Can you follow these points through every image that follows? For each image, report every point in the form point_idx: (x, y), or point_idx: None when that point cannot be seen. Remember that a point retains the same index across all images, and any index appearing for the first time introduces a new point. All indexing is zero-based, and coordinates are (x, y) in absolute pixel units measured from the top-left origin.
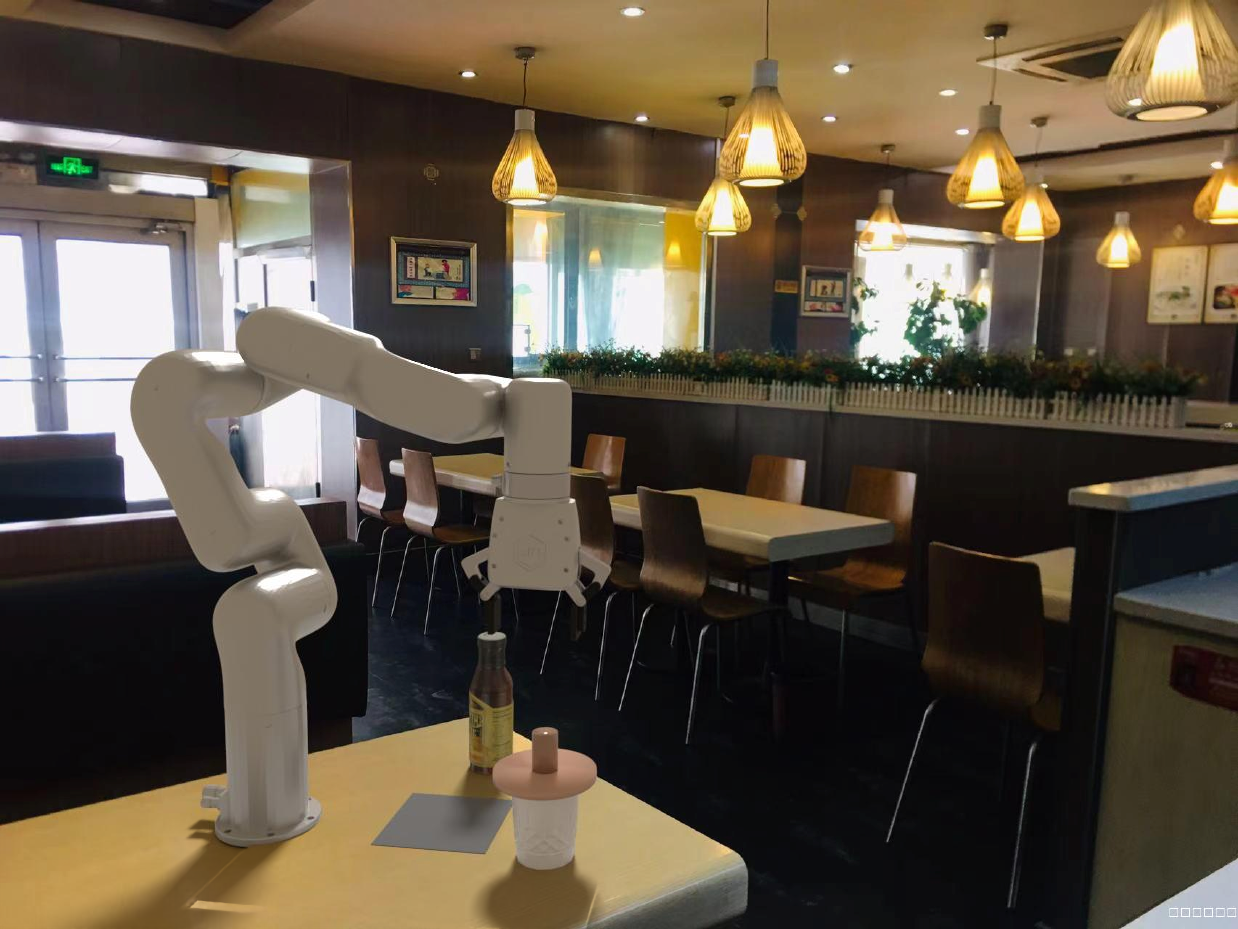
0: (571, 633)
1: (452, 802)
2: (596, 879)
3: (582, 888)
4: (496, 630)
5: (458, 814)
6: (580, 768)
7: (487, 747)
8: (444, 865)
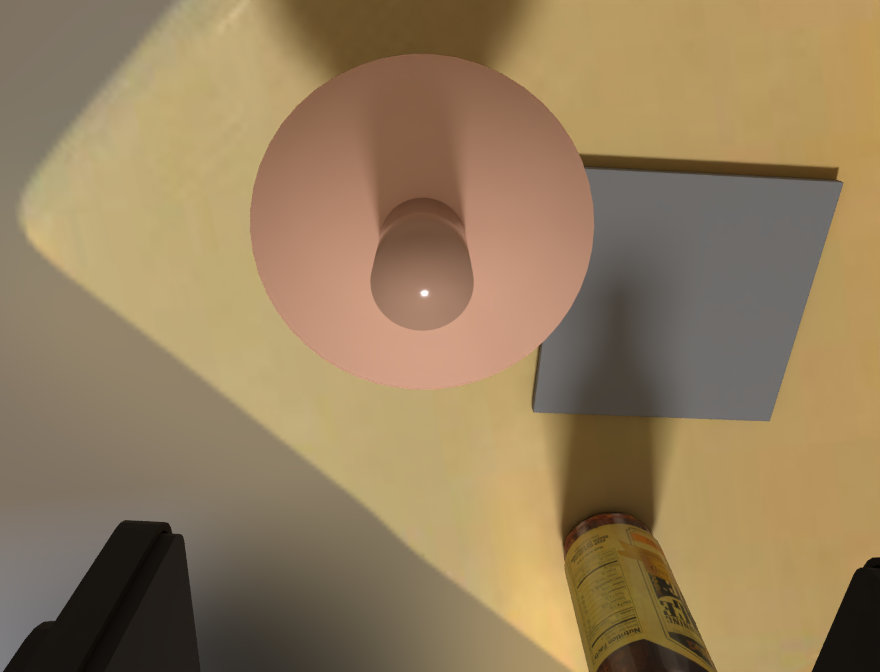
0: (144, 563)
1: (673, 388)
2: (287, 98)
3: (312, 53)
4: (841, 628)
5: (653, 338)
6: (307, 256)
7: (628, 557)
8: (654, 125)
